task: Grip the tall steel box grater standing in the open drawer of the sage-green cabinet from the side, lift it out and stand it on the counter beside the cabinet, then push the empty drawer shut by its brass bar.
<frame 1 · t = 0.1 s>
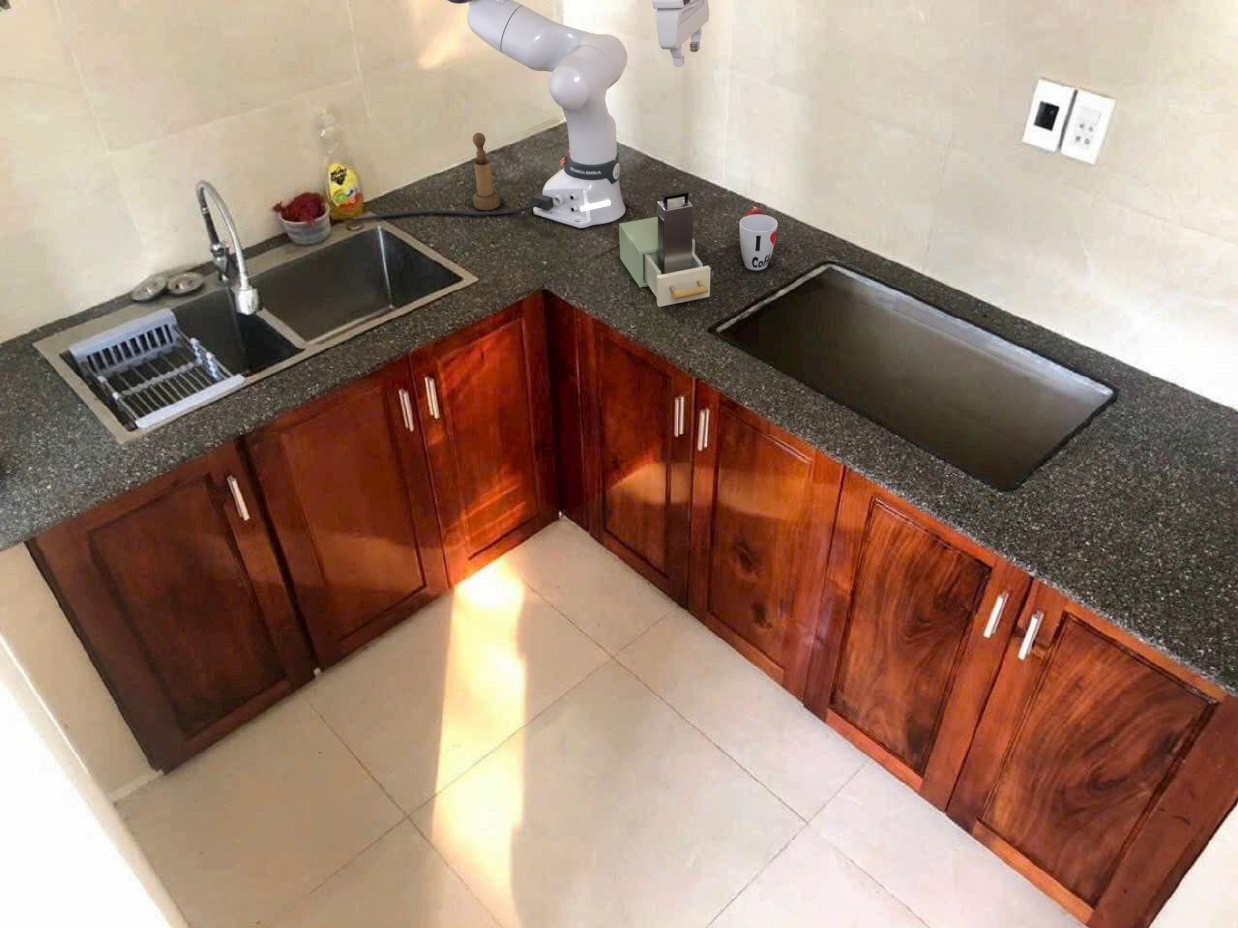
hand: (687, 58, 209), 39 cm above the worktop, tool pointing down, fingers open, 8 cm apart
cabinet: (656, 267, 221), on the worktop
drawer: (677, 278, 208), point 4 cm above the worktop, slide at 9.0 cm, touching grater
grater: (674, 284, 211), point 2 cm above the worktop, touching drawer
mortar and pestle: (487, 205, 247), on the worktop
onion: (753, 239, 229), on the worktop
cup: (755, 265, 220), on the worktop
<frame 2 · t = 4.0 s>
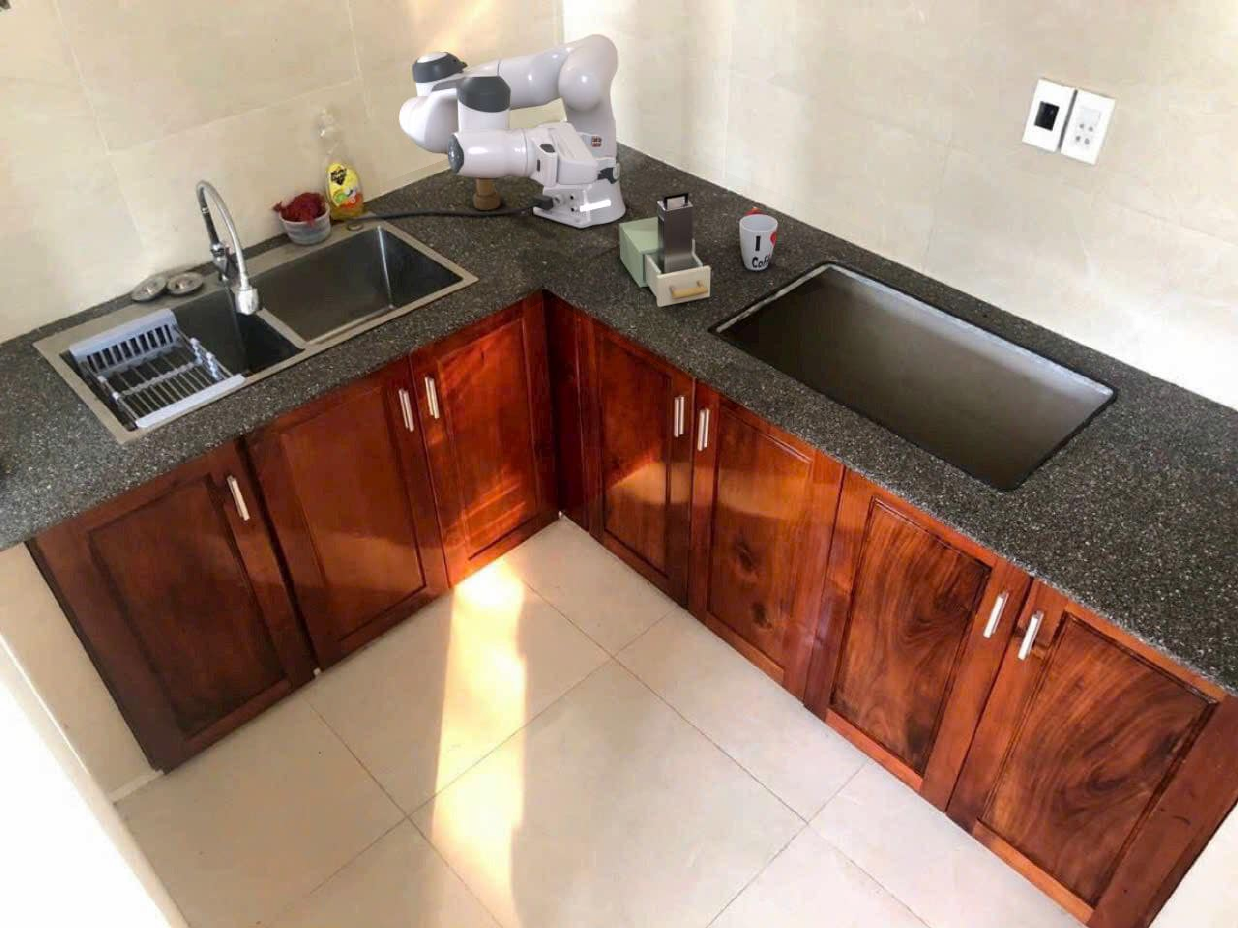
hand: (607, 150, 190), 33 cm above the worktop, tool horizontal, fingers open, 8 cm apart
nothing on the worktop moved.
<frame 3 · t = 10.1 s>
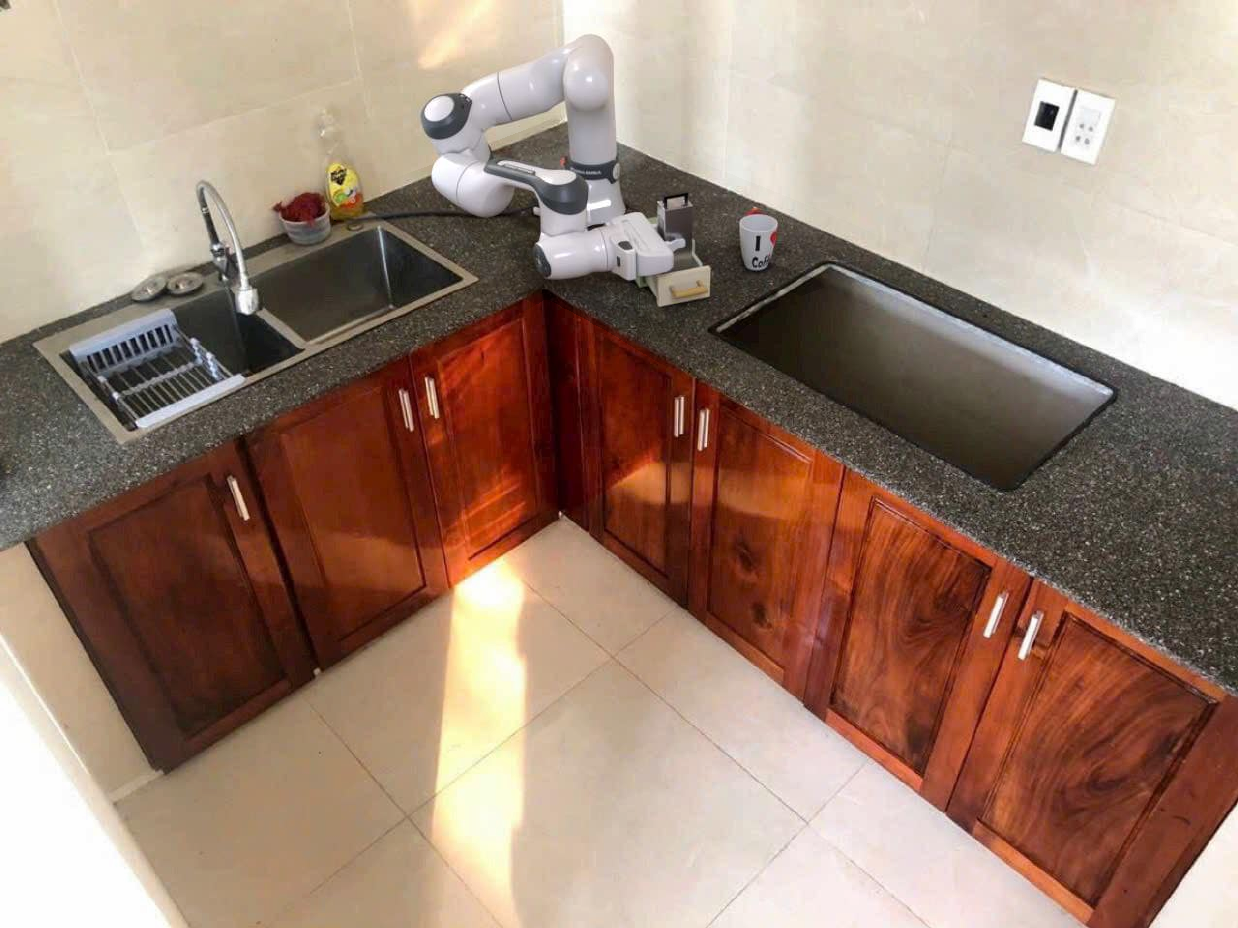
hand: (679, 235, 204), 13 cm above the worktop, tool horizontal, fingers closed on grater, 4 cm apart
grater: (674, 284, 211), point 2 cm above the worktop, touching drawer, gripper
everything else where it was.
when the fingers open (11 cm above the worktop, at t = 19.7 s): grater stays where it is, on the worktop.
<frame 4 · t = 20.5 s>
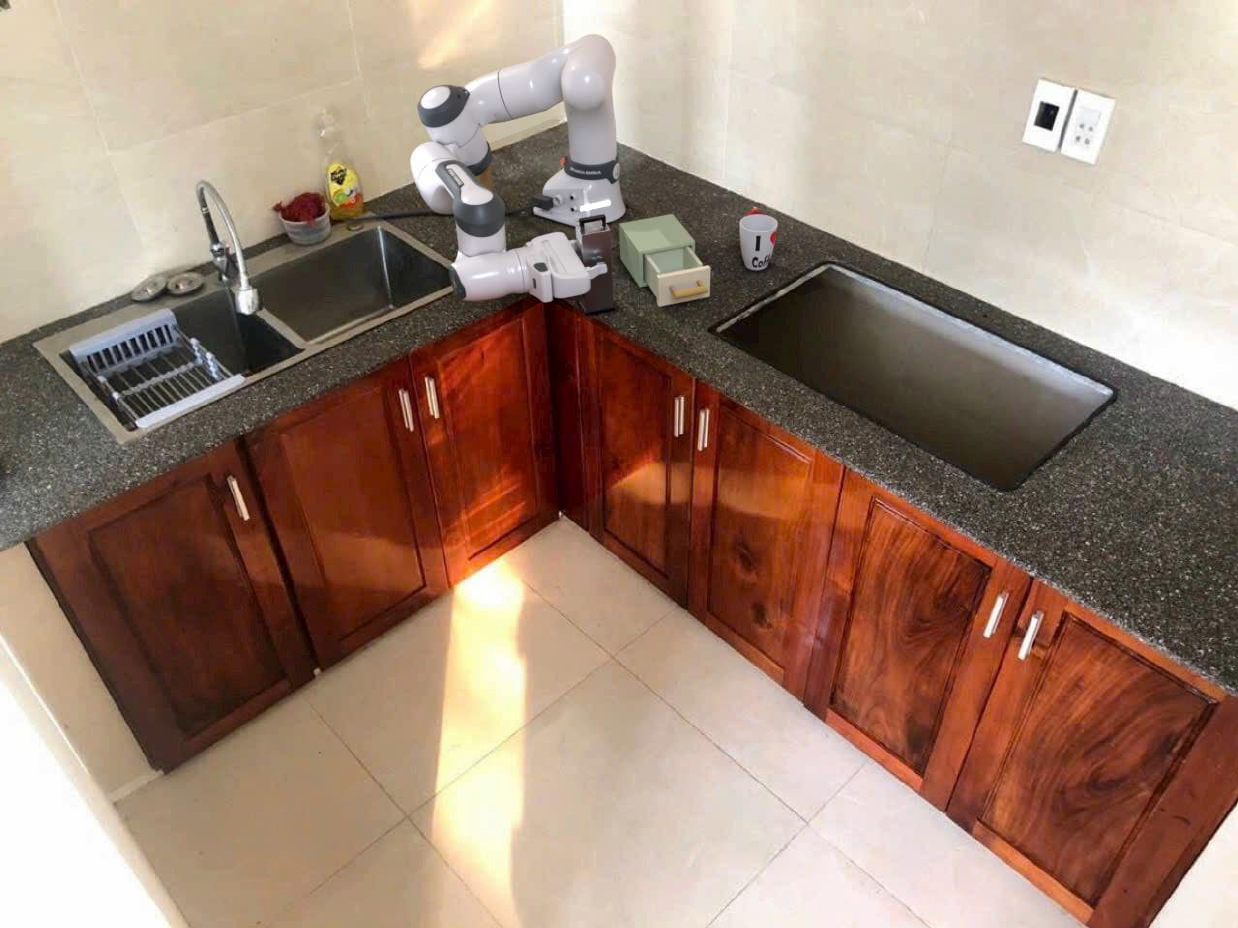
hand: (599, 256, 201), 12 cm above the worktop, tool horizontal, fingers open, 8 cm apart
drawer: (677, 278, 208), point 4 cm above the worktop, slide at 9.0 cm
grater: (597, 307, 209), on the worktop
everything else where it was.
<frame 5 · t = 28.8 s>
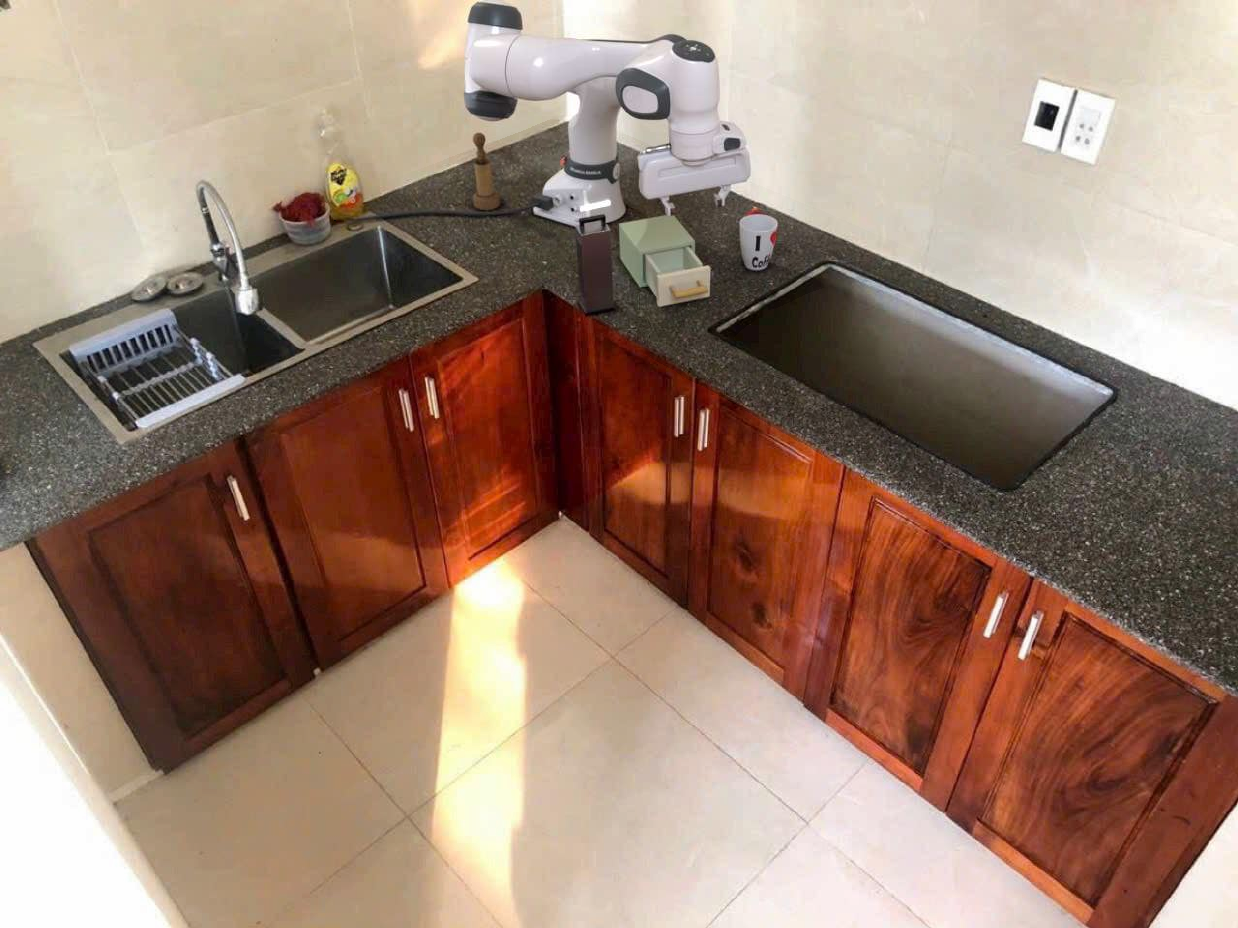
hand: (695, 209, 184), 26 cm above the worktop, tool pointing down, fingers open, 8 cm apart
nothing on the worktop moved.
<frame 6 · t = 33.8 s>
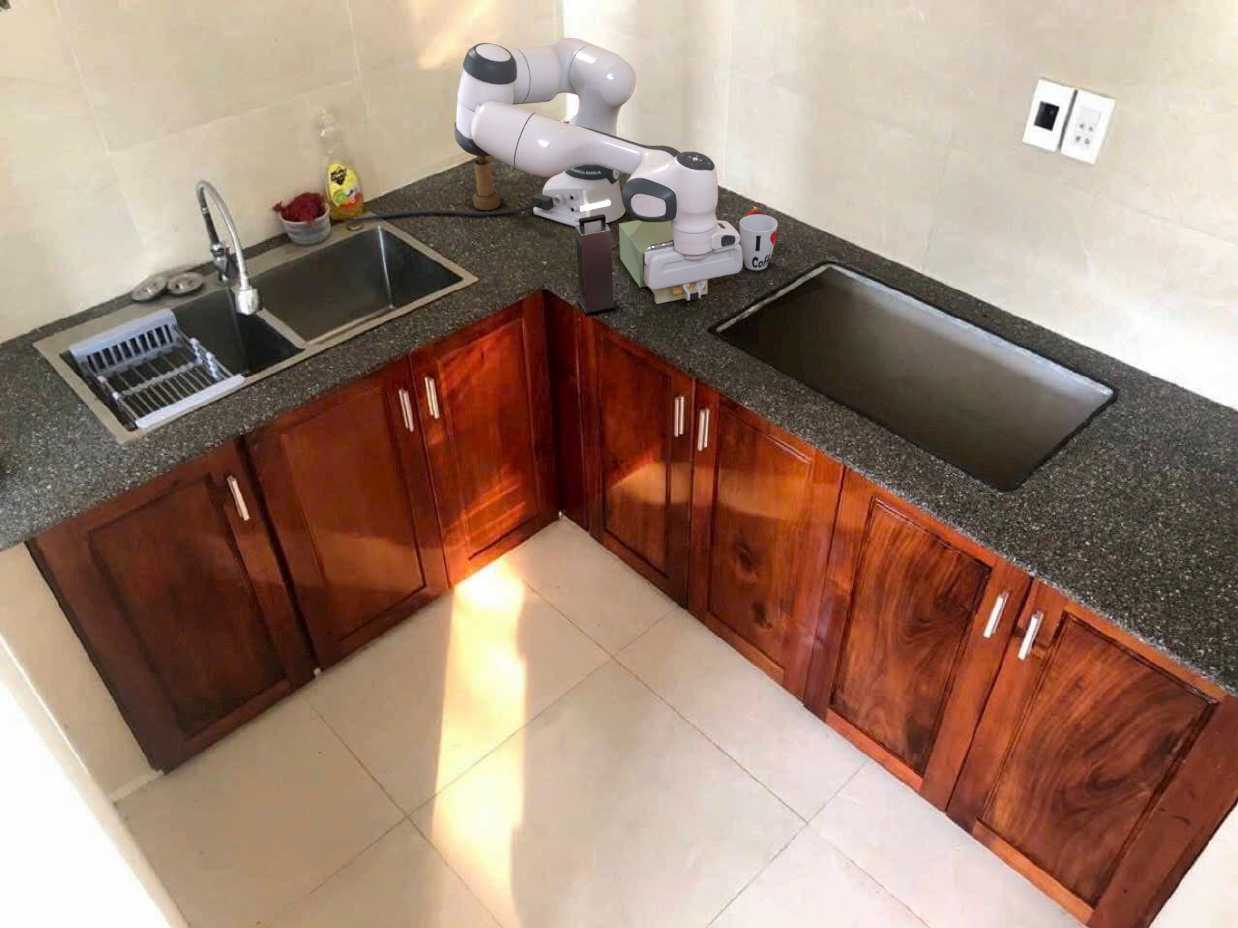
hand: (692, 298, 203), 4 cm above the worktop, tool pointing down, fingers closed, pressing on drawer
drawer: (675, 275, 209), point 4 cm above the worktop, slide at 7.7 cm, touching gripper
everything else where it was.
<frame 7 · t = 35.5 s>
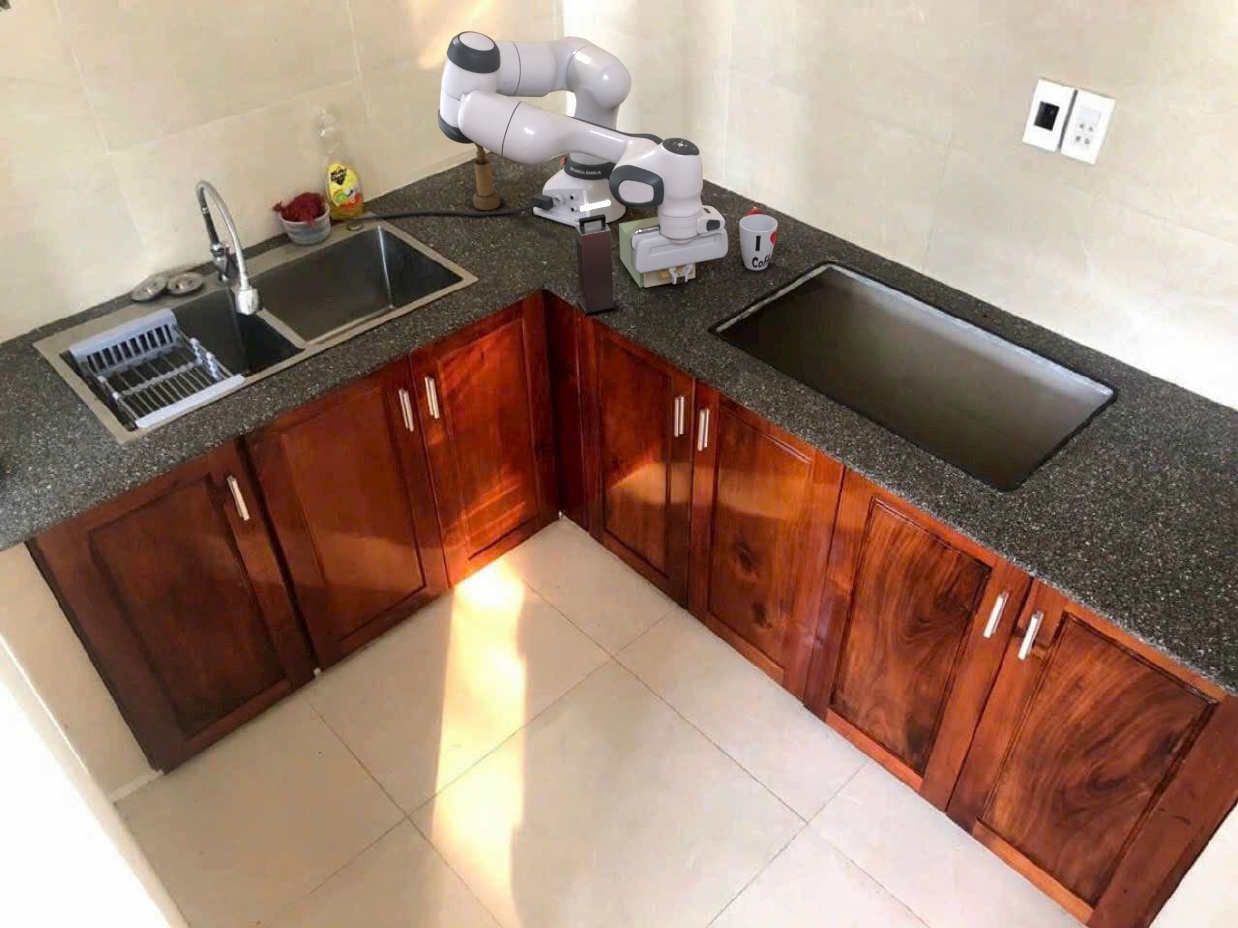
hand: (679, 281, 208), 4 cm above the worktop, tool pointing down, fingers closed
drawer: (663, 259, 214), point 4 cm above the worktop, slide at 0.7 cm, touching gripper
everything else where it was.
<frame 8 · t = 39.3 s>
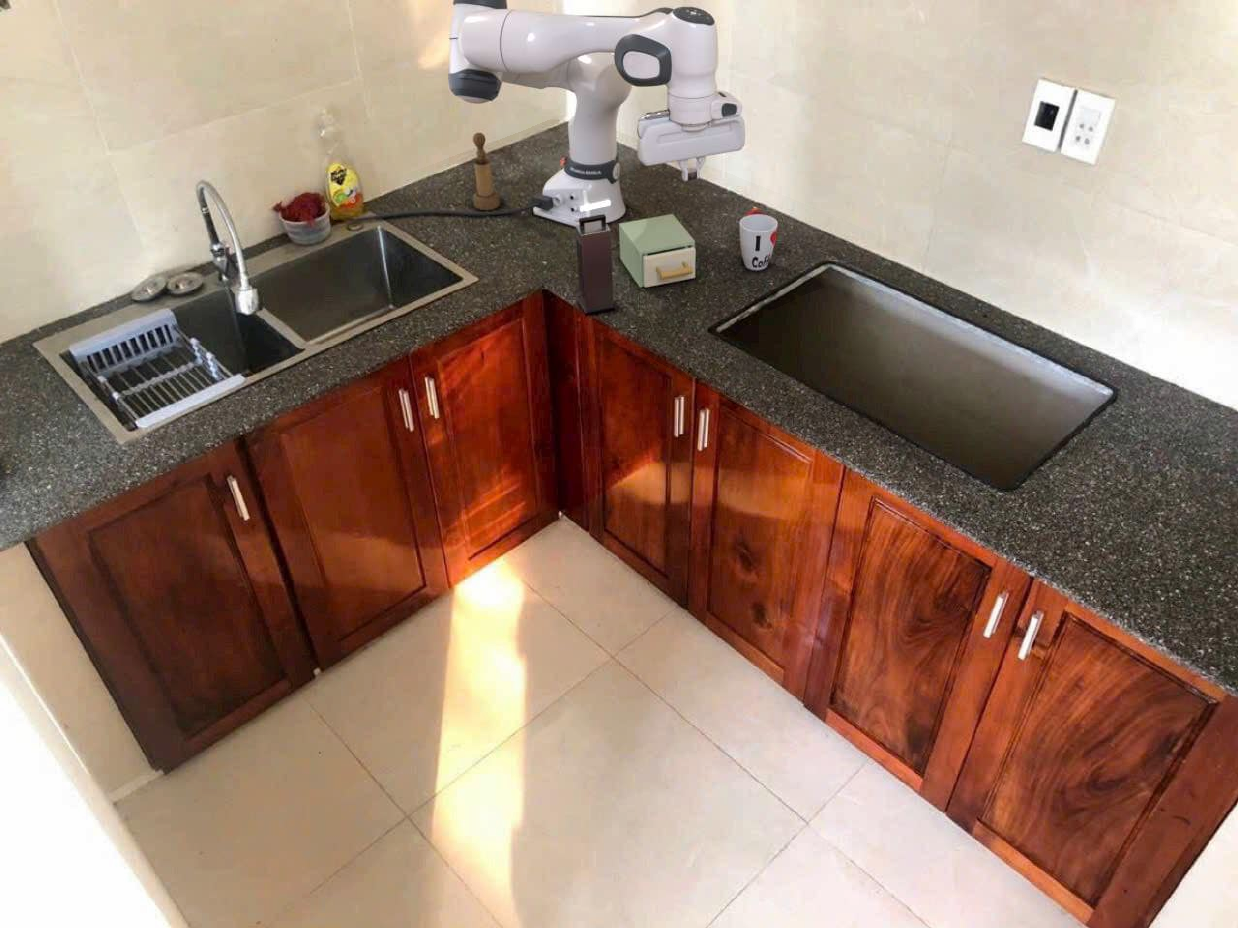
hand: (690, 179, 187), 29 cm above the worktop, tool pointing down, fingers closed
drawer: (663, 259, 214), point 4 cm above the worktop, slide at 0.7 cm
everything else where it was.
at the end: grater inside the target area (0.4 cm from its centre), on the worktop; grater tilted 0°; drawer slide at 0.7 cm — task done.
